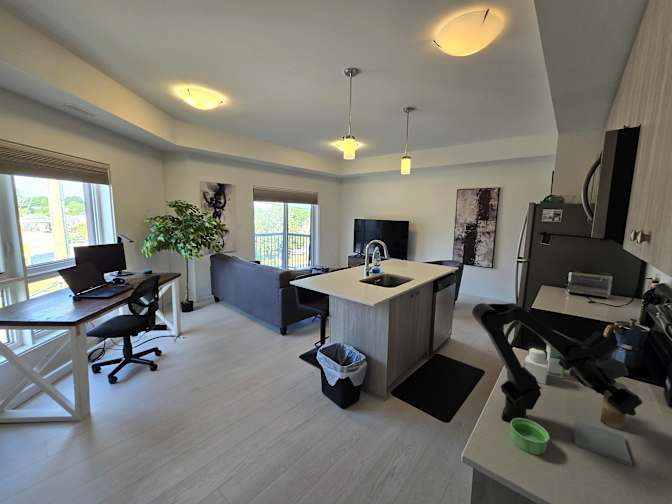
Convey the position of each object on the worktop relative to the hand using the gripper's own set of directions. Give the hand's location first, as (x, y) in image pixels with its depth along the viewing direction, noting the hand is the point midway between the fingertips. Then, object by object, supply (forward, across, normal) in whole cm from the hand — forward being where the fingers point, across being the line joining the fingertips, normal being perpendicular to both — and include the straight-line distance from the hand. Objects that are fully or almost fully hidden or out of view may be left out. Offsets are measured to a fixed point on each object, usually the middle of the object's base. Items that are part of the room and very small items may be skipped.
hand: (619, 404), depth 85 cm
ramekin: (-18, -10, +28) cm, 34 cm away
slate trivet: (-3, -8, +13) cm, 15 cm away
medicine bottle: (-2, +24, +11) cm, 27 cm away
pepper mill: (+4, 0, +6) cm, 7 cm away
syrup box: (+5, +28, +4) cm, 29 cm away
